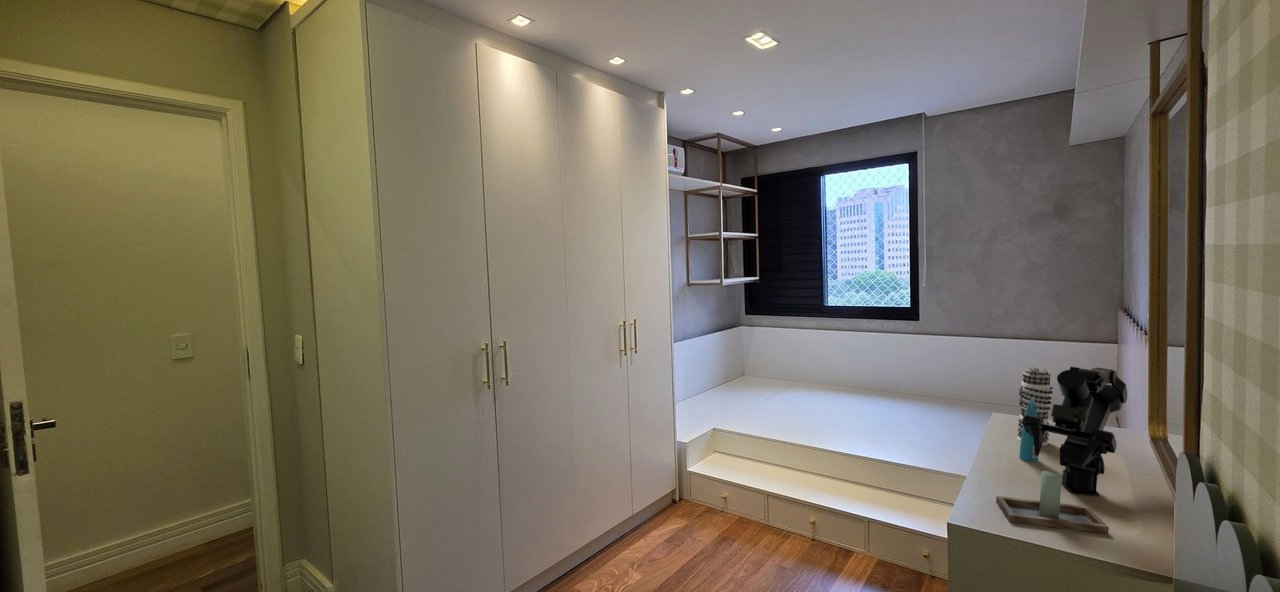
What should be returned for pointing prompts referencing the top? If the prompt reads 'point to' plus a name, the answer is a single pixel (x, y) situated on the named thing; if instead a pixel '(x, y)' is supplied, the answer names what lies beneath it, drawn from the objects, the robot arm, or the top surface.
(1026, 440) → the tube
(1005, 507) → the brown wooden flat tray
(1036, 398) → the decorative candle
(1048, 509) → the post
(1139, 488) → the top surface
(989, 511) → the top surface
